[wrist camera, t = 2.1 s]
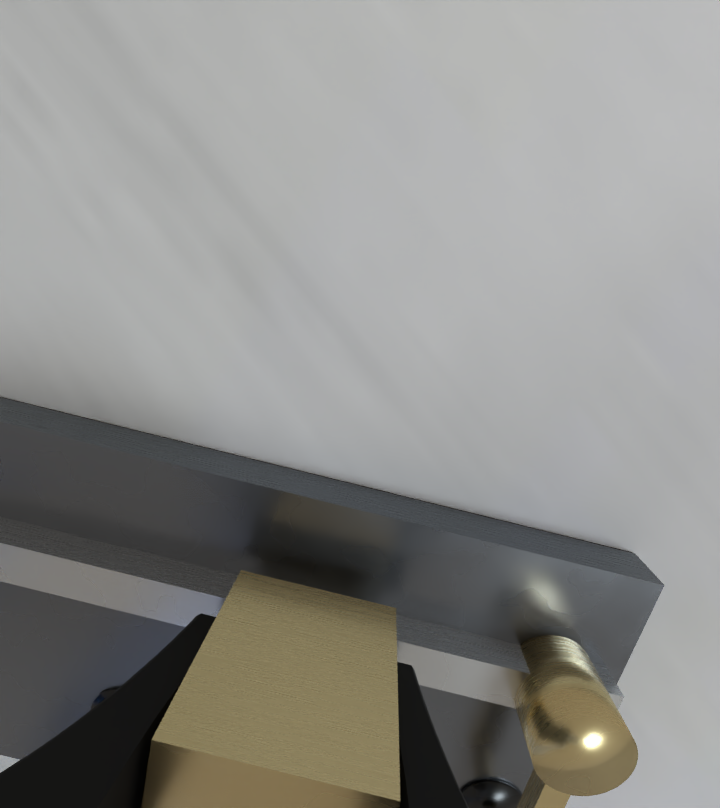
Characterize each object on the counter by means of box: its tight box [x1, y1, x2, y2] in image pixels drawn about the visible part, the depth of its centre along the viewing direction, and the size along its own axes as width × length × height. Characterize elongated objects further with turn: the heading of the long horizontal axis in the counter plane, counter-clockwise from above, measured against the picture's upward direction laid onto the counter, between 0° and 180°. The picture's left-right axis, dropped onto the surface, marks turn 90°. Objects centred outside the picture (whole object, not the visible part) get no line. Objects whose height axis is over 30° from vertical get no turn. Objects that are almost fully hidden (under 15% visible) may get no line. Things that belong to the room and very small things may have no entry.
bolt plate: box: [0, 397, 664, 808], centre depth 13 cm, size 12×20×4 cm, turn 77°
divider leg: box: [141, 570, 400, 808], centre depth 11 cm, size 8×4×5 cm, turn 167°
